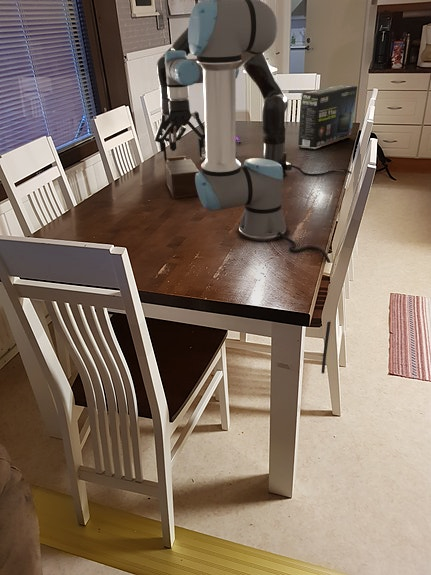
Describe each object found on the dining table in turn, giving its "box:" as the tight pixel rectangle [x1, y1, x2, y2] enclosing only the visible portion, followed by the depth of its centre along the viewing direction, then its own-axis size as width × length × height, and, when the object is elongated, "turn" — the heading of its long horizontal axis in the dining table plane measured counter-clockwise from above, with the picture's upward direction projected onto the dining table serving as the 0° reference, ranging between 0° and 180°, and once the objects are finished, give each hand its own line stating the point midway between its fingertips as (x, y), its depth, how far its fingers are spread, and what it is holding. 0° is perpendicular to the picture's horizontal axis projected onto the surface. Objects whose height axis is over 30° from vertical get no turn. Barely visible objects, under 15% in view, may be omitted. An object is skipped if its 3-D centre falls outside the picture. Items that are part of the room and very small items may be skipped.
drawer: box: [163, 155, 187, 177], centre depth 196 cm, size 23×10×8 cm, turn 13°
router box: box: [297, 84, 358, 151], centre depth 238 cm, size 36×11×27 cm, turn 134°
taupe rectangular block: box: [164, 158, 200, 199], centre depth 186 cm, size 18×11×10 cm, turn 13°
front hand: (183, 158), depth 176 cm, fingers open, 13 cm apart
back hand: (173, 150), depth 201 cm, fingers closed
